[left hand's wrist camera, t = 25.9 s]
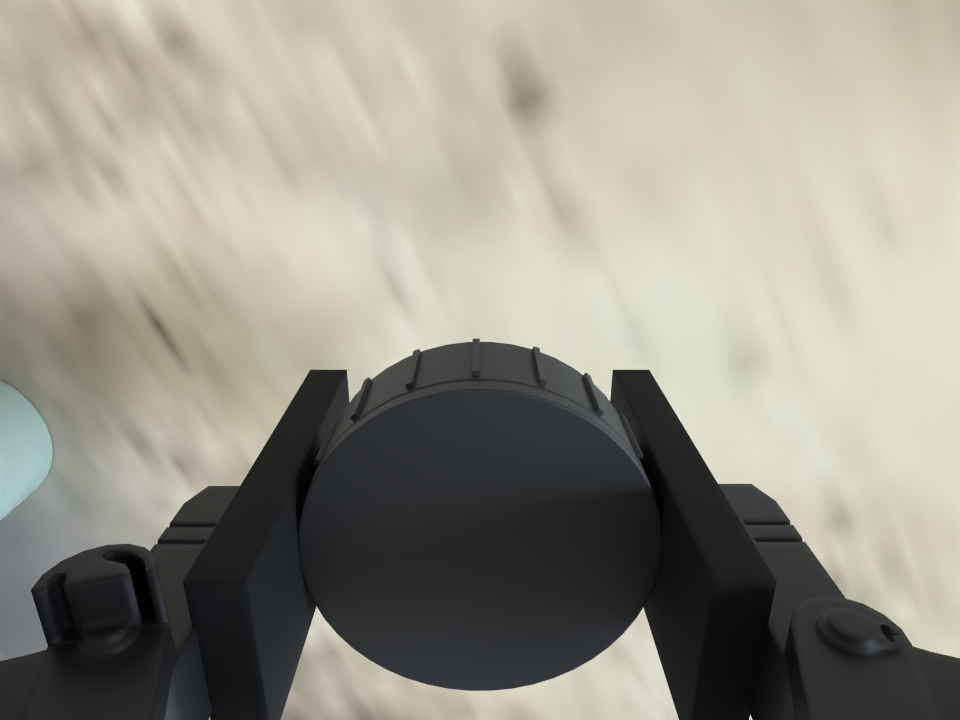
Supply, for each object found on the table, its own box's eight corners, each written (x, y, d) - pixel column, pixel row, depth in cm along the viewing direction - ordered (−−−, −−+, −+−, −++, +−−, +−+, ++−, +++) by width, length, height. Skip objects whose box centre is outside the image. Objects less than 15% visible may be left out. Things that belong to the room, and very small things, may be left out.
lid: (278, 373, 11) (240, 427, 10) (619, 308, 11) (648, 352, 9) (366, 631, 13) (348, 715, 12) (656, 585, 13) (684, 666, 11)
